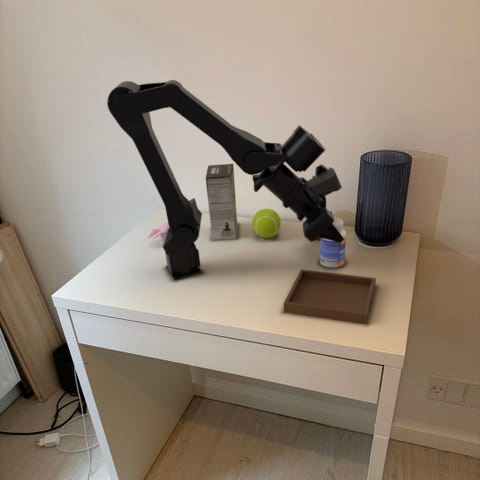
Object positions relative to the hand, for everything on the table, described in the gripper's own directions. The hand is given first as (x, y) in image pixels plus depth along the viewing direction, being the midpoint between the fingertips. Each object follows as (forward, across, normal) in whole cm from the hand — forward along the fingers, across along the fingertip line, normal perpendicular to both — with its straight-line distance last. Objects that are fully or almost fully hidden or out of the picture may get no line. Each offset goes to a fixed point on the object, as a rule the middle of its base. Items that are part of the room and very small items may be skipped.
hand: (340, 234), depth 104 cm
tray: (+2, -15, +8) cm, 17 cm away
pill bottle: (+4, 0, +6) cm, 7 cm away
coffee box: (-13, +19, +23) cm, 33 cm away
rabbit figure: (-23, +19, +33) cm, 44 cm away
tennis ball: (-6, +15, +16) cm, 23 cm away
